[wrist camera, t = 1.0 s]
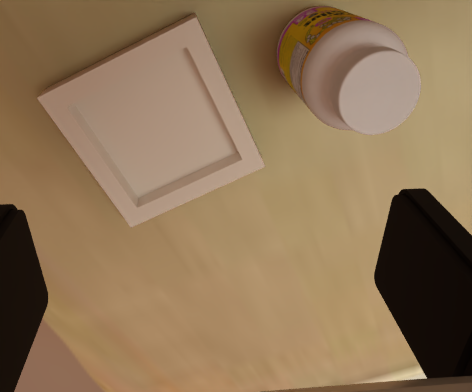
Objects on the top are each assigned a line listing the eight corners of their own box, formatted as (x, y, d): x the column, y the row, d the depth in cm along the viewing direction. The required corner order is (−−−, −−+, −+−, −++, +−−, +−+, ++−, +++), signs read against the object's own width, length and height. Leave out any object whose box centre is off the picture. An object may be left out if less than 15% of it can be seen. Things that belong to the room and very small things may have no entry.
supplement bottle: (363, 8, 33) (458, 36, 22) (345, 92, 36) (419, 154, 25) (280, 0, 32) (335, 25, 21) (268, 87, 35) (311, 149, 24)
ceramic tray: (194, 12, 31) (196, 17, 29) (260, 154, 38) (265, 166, 36) (46, 88, 33) (36, 97, 31) (133, 212, 39) (131, 227, 37)
